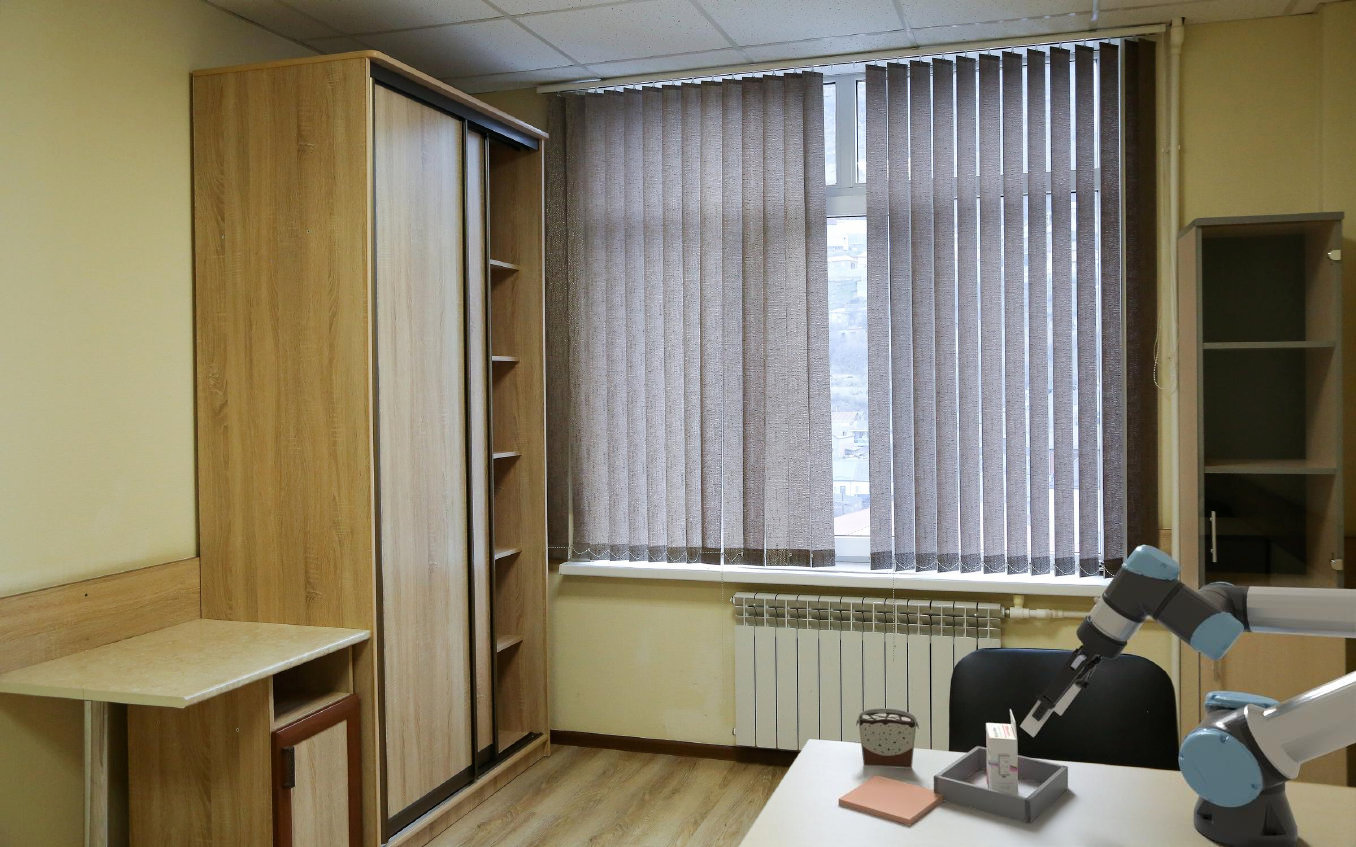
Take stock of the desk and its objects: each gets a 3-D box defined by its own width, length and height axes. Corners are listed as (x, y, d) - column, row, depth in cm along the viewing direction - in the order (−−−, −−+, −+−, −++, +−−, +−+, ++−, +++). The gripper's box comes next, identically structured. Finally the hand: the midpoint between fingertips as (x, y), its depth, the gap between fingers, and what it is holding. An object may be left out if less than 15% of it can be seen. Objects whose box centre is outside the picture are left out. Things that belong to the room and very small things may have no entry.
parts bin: (1067, 787, 184) (1067, 766, 184) (1029, 823, 169) (1029, 800, 169) (977, 765, 195) (977, 745, 195) (933, 797, 180) (933, 775, 180)
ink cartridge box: (985, 782, 187) (984, 706, 186) (1012, 784, 186) (1012, 707, 185) (990, 801, 178) (989, 720, 178) (1018, 803, 177) (1018, 722, 177)
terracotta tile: (944, 798, 180) (944, 793, 180) (909, 824, 169) (909, 819, 169) (876, 780, 189) (876, 774, 189) (838, 803, 178) (838, 798, 178)
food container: (917, 757, 200) (917, 708, 200) (919, 768, 194) (919, 718, 194) (856, 754, 202) (855, 706, 202) (856, 765, 196) (855, 715, 196)
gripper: (1110, 600, 176) (1047, 688, 184) (1063, 628, 157) (996, 724, 165) (1148, 627, 172) (1083, 715, 180) (1105, 659, 153) (1034, 756, 161)
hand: (1041, 720), depth 173 cm, fingers open, 13 cm apart
